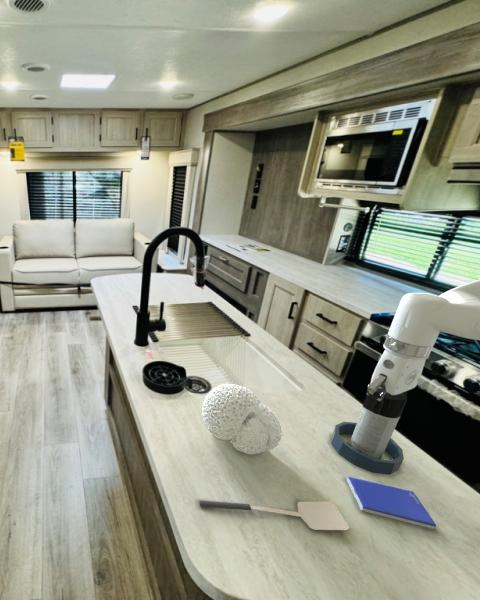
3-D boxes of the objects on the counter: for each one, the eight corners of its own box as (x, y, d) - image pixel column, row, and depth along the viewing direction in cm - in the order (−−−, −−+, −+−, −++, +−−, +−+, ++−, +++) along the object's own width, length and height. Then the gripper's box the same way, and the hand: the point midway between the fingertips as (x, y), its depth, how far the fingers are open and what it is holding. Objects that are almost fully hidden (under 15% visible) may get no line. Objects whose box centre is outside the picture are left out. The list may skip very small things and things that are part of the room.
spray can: (387, 465, 80) (416, 402, 73) (357, 462, 81) (383, 400, 74) (369, 444, 86) (394, 385, 79) (341, 442, 87) (364, 383, 80)
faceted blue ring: (351, 427, 92) (355, 416, 91) (410, 464, 80) (415, 452, 79) (319, 440, 88) (323, 429, 86) (376, 481, 76) (382, 469, 74)
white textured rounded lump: (188, 419, 85) (228, 374, 82) (192, 407, 101) (226, 369, 98) (254, 480, 77) (301, 432, 75) (248, 457, 93) (286, 417, 91)
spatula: (348, 534, 65) (351, 529, 64) (202, 517, 69) (203, 513, 68) (330, 506, 71) (332, 501, 70) (196, 492, 74) (197, 487, 74)
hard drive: (413, 490, 72) (348, 475, 76) (436, 525, 65) (363, 506, 69) (410, 495, 72) (346, 480, 76) (434, 530, 65) (361, 511, 69)
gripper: (404, 361, 66) (377, 425, 72) (450, 346, 71) (421, 406, 78) (364, 345, 72) (342, 405, 79) (409, 332, 78) (385, 389, 84)
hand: (382, 405), depth 78 cm, fingers open, 8 cm apart
